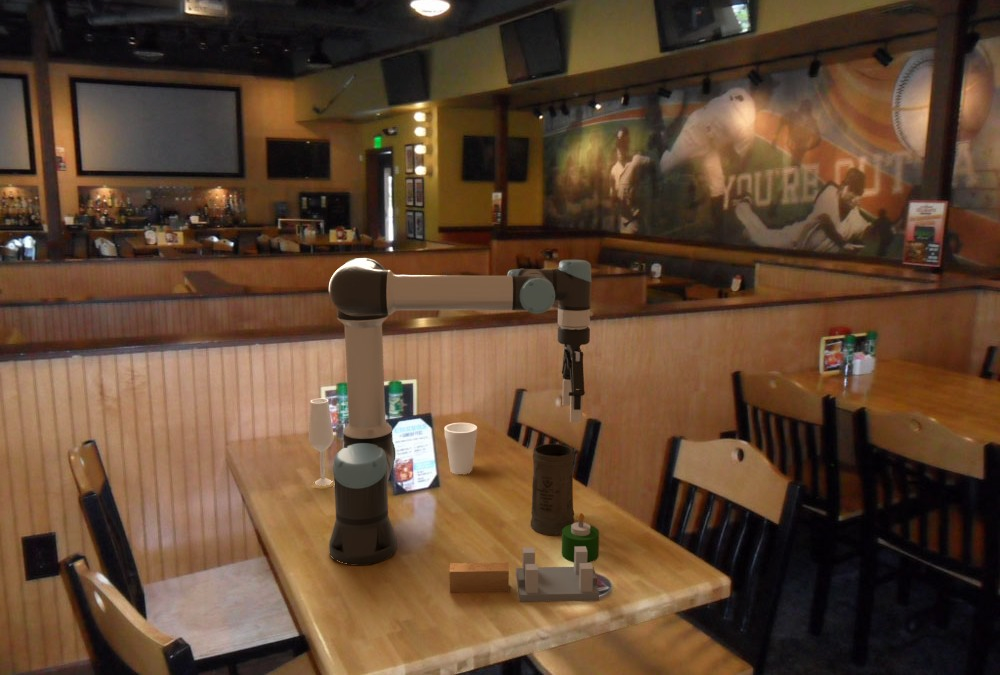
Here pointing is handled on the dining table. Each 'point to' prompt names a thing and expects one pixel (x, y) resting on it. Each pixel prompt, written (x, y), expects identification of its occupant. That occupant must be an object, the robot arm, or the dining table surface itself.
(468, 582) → the block
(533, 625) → the dining table surface
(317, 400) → the champagne flute
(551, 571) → the jig
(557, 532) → the beer stein
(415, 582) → the dining table surface
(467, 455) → the foam cup
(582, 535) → the candle
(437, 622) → the dining table surface
